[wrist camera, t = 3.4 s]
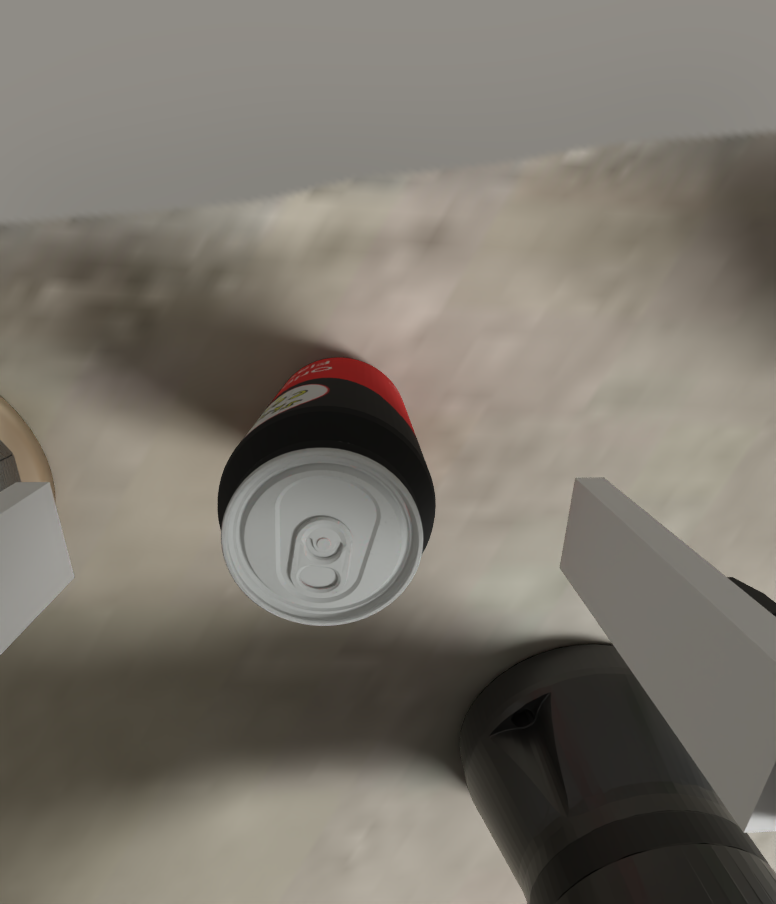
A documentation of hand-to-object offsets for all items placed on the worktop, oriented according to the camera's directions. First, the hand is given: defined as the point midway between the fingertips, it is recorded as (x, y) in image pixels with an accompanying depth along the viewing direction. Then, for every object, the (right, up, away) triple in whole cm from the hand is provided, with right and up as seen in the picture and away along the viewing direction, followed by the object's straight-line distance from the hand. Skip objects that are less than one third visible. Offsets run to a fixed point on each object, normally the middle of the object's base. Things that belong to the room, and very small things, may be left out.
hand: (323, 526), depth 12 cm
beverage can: (-1, +4, +11) cm, 12 cm away
